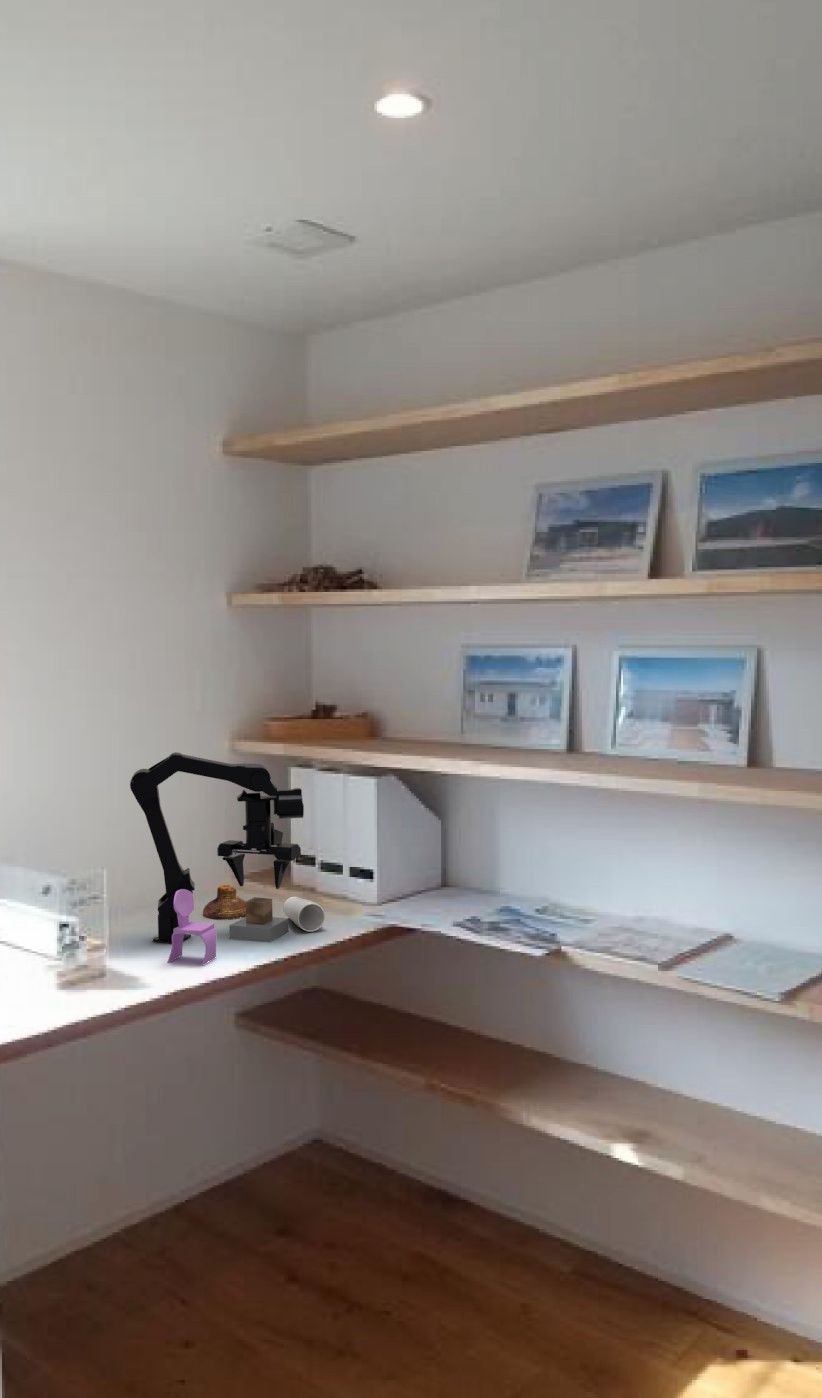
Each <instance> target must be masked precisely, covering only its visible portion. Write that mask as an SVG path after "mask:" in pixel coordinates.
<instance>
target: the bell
mask: <svg viewBox="0 0 822 1398" xmlns="http://www.w3.org/2000/svg"><path fill="white" fill-rule="evenodd" d="M216 892H217V894H216V897H215V898H214V899H212V900H210V901H209V902H208V903H207V904H206V905H205V906H204V907H203V911H202V914H203V916H204V917H205V916H206V917H205V918H207V917H209V918H208V919H211V918H213V919H212V920H218V919H228V920H234V919H233V918H238V919H241V918H240V917H242V918H245V916H246V901H247V900H245V899H243V898H240V896H237V889H236V887H235V886H232V885H230V884H220V885H219V886H218V887H217V891H216Z"/></svg>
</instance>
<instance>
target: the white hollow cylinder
mask: <svg viewBox="0 0 822 1398" xmlns="http://www.w3.org/2000/svg"><path fill="white" fill-rule="evenodd" d="M282 908H283V914H284V915H285V916H286V918H289V919H290V920H291V921H292V922H293V923H294V925H295V926H296V927H298V928H299V929H301V930H303V931H305V932H308V933H311V932H316V931H318V930H320V929H321V928H322V926H323V925H324V923H325V919H326V913H325V910H324V909H323V907H322V906H321V905H319V904H318V903H317V902H315V901H313V900H309V899H306V898H305V899H304V898H301V897H298V896H291V897H289V898H286V900H285V902H284V904H283V906H282Z"/></svg>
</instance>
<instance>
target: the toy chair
mask: <svg viewBox="0 0 822 1398" xmlns="http://www.w3.org/2000/svg"><path fill="white" fill-rule="evenodd" d="M194 905H195V902H194V893H193V894H192V893H191V892H190V891H188V890H185V889H181V890H178V891H176V893H175V896H174V910H175V912H176V913H177V917H178V924H179V927H176V928H174V933H173V934H172V943H171V949H170V952H169V956H168V960H167V962H166V963H167V964H169V962H170V963H171V962H173V961H175V960H176V959H175V958H177V957H178V958H180V957H182V956H183V945H184V944H183V943H184V940H183V939H184V935H185V934H191V935H192V936H193V935H195V936H199V937H201V939H202V940H203V941H202V942H203V945H204V947H205V951H204V957H203V961H202V963H201V965H202V964H205V963H207V962H208V961H210V960H211V961H213V960H214V959H213V958H215V957H216V958H217V935H218V934H217V929H216V927H215V923H213V922H196V921H195V922H194V921H189V920H190V919H189V917H190V915H191V913H192V912H194V910H195V906H194ZM181 955H182V956H181ZM179 956H180V957H179ZM178 958H177V959H178ZM216 958H215V959H216ZM174 959H175V960H174ZM212 959H213V960H212ZM172 960H173V961H172ZM211 961H210V962H211ZM208 963H209V962H208ZM208 963H207V964H208ZM205 965H206V964H205Z"/></svg>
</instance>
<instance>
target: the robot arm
mask: <svg viewBox="0 0 822 1398" xmlns="http://www.w3.org/2000/svg"><path fill="white" fill-rule="evenodd" d="M178 772H179V773H180V772H181V773H186V774H191V775H195V776H202V777H207V778H212V779H217V780H222V781H228V782H230V783H233V784H234V785H238V786H239V787H242V788H244V789H243V790H241V793H240V794H239V795H237V796H236V799H237V802H239V803H240V802H244V807H245V811H244V812H245V813H244V814H245V825H242V830H243V831H245V843H244V842H243V840H227V841H223V842H221V843H219V845H218V846H217V856H218V857H222V860H223V861H225V862H226V863H227V865H228V866H229V868H230V869H231V871H232V873H233V875H234V877H235V879H236V881H237V883H238V885H239V887H241V888H242V887H244V883H245V874H244V873H245V872H244V860H245V855H246V854H250V855H251V854H253V855H271V856H274V857H275V858H276V859H275V860H273V871H274V872H273V873H274V883H275V885H274V886H275V889H276V890H278V889H280V888H281V885H282V882H283V879H284V876H285V873H286V870H287V867H288V865H289V864H290V862H293V861H295V860H296V859H297V858H299V857H301V856H302V851H301V850H302V849H301V846H300V845H299V843H290V842H289V843H283V838H284V836H283V835H284V832H283V831H280V830H278V829H276V828H275V825H274V822H272V820H271V819H272V813H271V811H273V815H276V817H277V816H278V820H280V819H281V820H284V819H285V820H287V819H303V818H304V815H305V814H304V807H305V805H304V803H303V794H302V793H303V790H302V789H301V788H300V787H295V788H292V789H291V788H290V789H278V787H277V785H276V784H274V783H273V782H272V781H271V779H272V778H271V774H270V772H269V770H268V769H267V768H266V767H265V766H264V765H263V764H261V763H228V762H223V761H219V760H218V761H217V760H212V759H208V758H201V757H197V756H193V755H188V754H187V755H186V754H182V753H181V752H177V751H176V752H175V751H174V752H172V753H171V754H169V755H168V756H167V757H165V758H164V759H162V760H160V761H159V762H157V763H155V764H154V765H152V766H151V767H149V768H141V769H138V770H137V771H135V772H134V773H133V775H132V777H131V779H130V781H129V783H130V784H129V787H130V790H131V792H132V794H133V796H134V798H135V800H136V802H137V804H139V806H140V808H141V810H142V811H143V813H144V815H145V818H146V822H147V824H148V828H149V830H150V835H151V836H152V837H151V838H152V840H153V843H154V846H155V849H156V852H157V855H158V859H159V861H160V864H161V867H162V871H163V878H164V887H165V893H164V894H163V895H162V896H161V897H160V898H159V899H158V901H157V912H158V914H157V931H158V932H157V934H158V936H155V937H154V938H152V942H156V943H157V942H158V943H168V944H172V934H173V933H174V928H176V927H179V924H178V917H177V913H176V912H175V910H174V896H175V893H176V891H178V890H181V889H185V890H188V891H190V892H191V893H192V894H193V895H194V893H193V892H194V891H195V889H196V888H195V885H196V884H195V882H194V881H193V879H192V877H191V871H190V870H191V869H190V868H189V867H187V868H185V869H183V866H182V865H181V863H180V862H179V858H178V856H177V852H176V849H175V847H174V844H173V841H172V837H171V835H170V832H169V828H168V825H167V823H166V819H165V816H164V813H163V810H162V806H161V799H160V790H159V786H160V784H162V783H163V782H165V781H166V780H168V779H169V778H171V777H172V776H173V775H174V774H176V773H178ZM245 789H246V790H249V791H252V792H248V791H246V790H245ZM261 792H262V793H264V794H265V796H263V795H261ZM266 795H267V796H266ZM271 801H272V810H271ZM191 937H192V934H185V935H184V939H183V941H185V940H187V939H189V938H191Z"/></svg>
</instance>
